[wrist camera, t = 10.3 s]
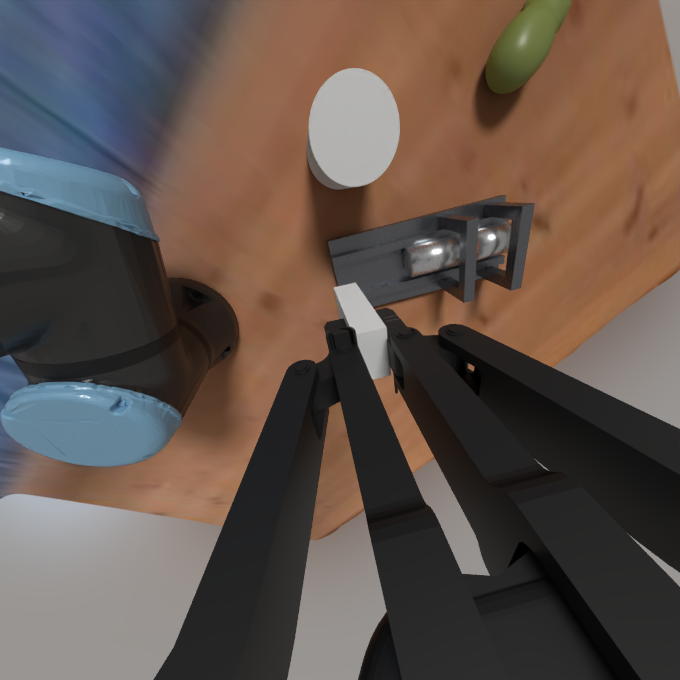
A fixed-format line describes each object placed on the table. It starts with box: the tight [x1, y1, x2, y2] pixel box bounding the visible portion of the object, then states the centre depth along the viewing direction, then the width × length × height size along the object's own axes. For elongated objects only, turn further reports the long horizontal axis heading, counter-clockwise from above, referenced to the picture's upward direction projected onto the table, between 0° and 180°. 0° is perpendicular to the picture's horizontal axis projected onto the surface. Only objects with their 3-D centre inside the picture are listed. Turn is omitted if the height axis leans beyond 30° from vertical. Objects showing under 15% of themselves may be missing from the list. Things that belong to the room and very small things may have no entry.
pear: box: [485, 0, 571, 94], centre depth 28 cm, size 6×5×10 cm
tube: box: [403, 222, 511, 277], centre depth 38 cm, size 15×4×4 cm, turn 102°
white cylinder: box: [307, 68, 400, 190], centre depth 27 cm, size 8×8×12 cm
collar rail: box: [327, 195, 535, 307], centre depth 37 cm, size 27×12×8 cm, turn 102°
